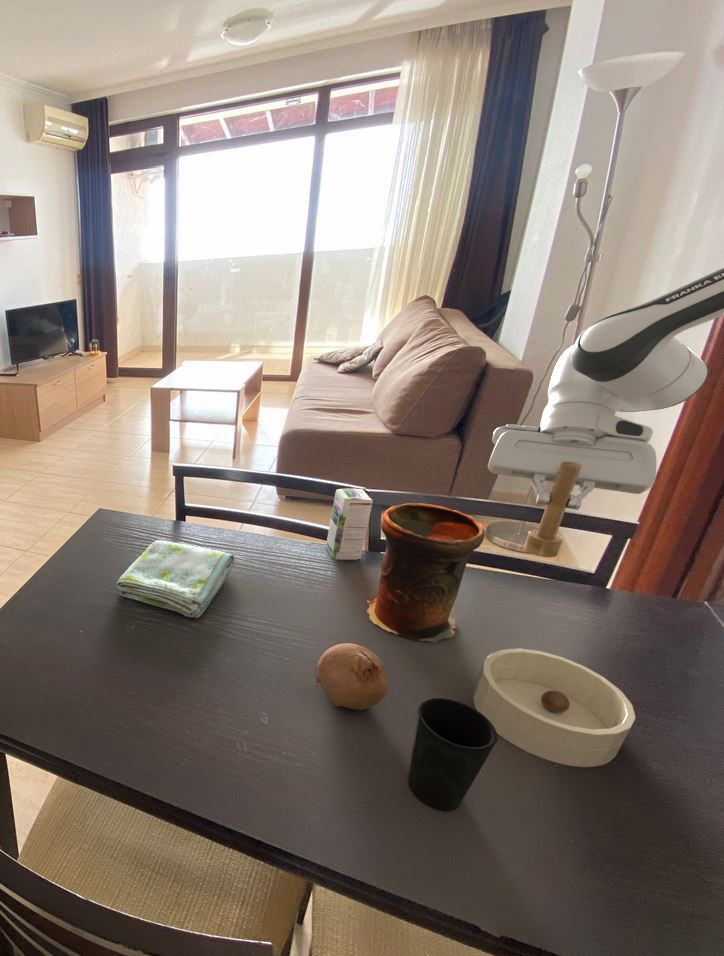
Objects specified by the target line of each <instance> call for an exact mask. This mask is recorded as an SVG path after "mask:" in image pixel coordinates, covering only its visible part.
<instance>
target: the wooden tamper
mask: <svg viewBox="0 0 724 956" xmlns="http://www.w3.org/2000/svg"><path fill="white" fill-rule="evenodd" d="M581 467H582V465H580V464H578V463H575V462H562V463H561V466H560V469H559V471H558V474H557V477H556V480H555V482H553V486H552V488H551V491H550V492H551V496H550V501H549V503H548V504H547V505H545V508H544V511H543V514H542V517H541V520H540V522H539V525H538V527H537V529H536V528H534V529H531V530H529V531H528V534H527V537H526V540H525V542H524V544H523V549H524V551H526V552H527V553H529V554H531V555H534V556H537V557H542V558H555V557H557V556H558V554H559V552H560V549H561V547H562V543H563V541H564V538H563V537H562V536H561V535H560V534H558V532H559V528H560V525H561V523H562V521H563V518H564V516H565V512H566V509H567V508H566V507H567V504H568V502H569V499H570V496H571V495H573V491H574V488H575V486H576V485H575V483H576V480H577V477H578V475H579V472H580V469H581Z"/></svg>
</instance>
